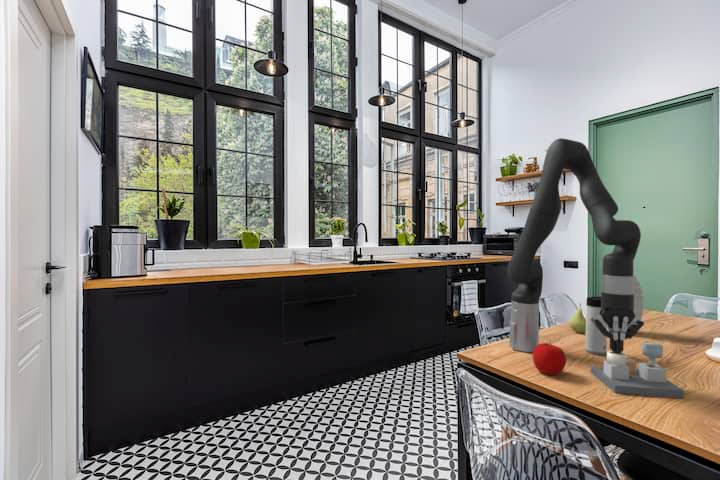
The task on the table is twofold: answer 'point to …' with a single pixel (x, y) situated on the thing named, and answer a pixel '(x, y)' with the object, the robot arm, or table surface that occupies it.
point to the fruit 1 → (549, 359)
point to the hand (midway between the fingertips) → (616, 352)
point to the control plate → (637, 380)
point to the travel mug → (594, 328)
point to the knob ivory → (616, 359)
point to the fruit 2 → (578, 322)
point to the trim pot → (631, 365)
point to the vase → (637, 300)
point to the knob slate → (652, 352)
